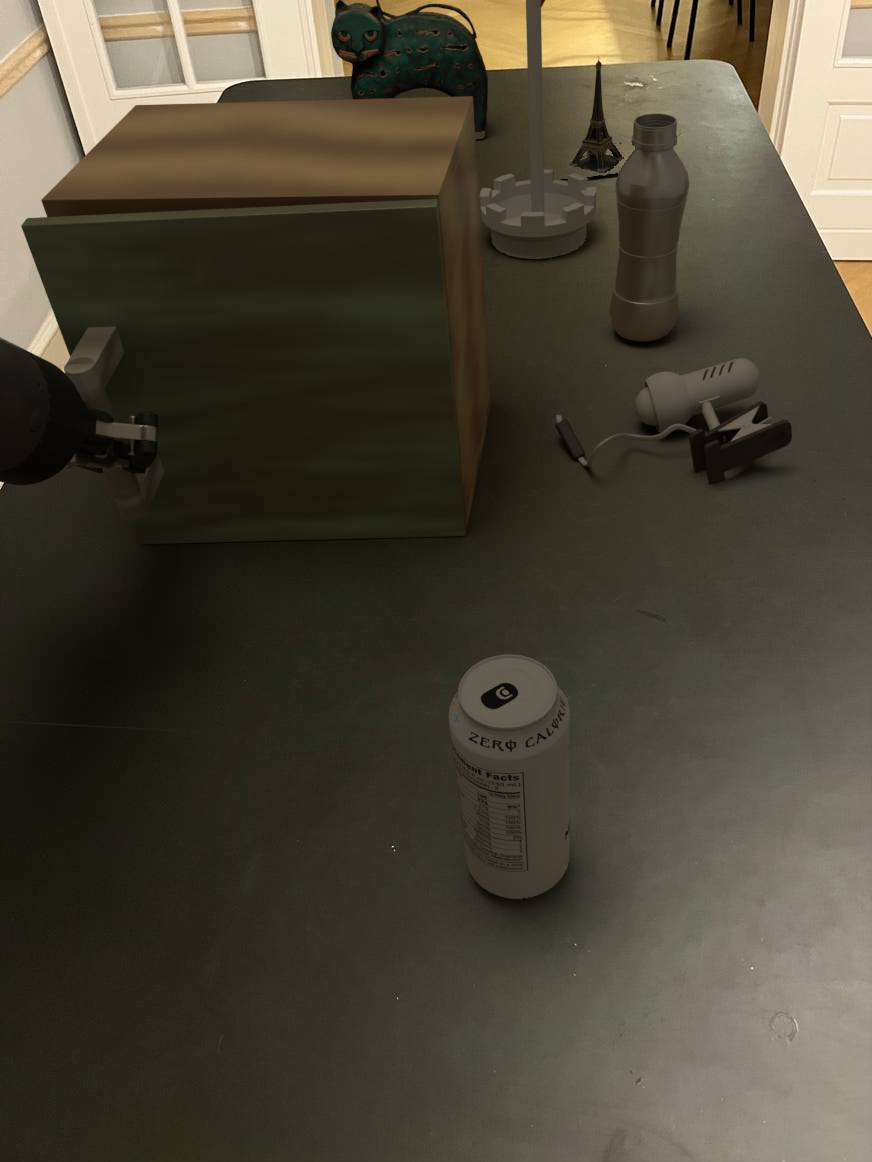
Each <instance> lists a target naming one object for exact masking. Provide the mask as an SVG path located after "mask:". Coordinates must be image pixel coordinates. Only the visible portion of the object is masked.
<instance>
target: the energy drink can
mask: <svg viewBox="0 0 872 1162" xmlns="http://www.w3.org/2000/svg"><path fill="white" fill-rule="evenodd" d="M457 690H458V691H457V692H456V694H455V695H454V696H453V698H452V701H451V702H450V706H449V708H448V724H449V732H450V733H449V734H450V740H451V741H450V742H451V747H452V755H453V756H452V758H453V764H454V766H453V767H454V772H455V773H454V774H455V780H456V788H457V789H456V790H457V797H458V804H459V813H460V821H461V828H462V829H461V830H462V836H463V837H462V839H463V845H464V846H463V847H464V852H465V859H466V860H465V861H466V866H467V869H468V871H469V873H470V875H471V877H472V878H473V879H474V881H475V882H476V883H477V884H478V885H479V886H480V887H481V888H483V889H485V890H486V891H487V892H488V893H490V894H493V895H495V896H498V897H500V898H501V897H502V898H505V899H510V900H523V898H525V899H530V898H533V897H536V896H539V895H542V894H543V893H546V892H547V891H549V890H551V889H552V888H553V887H554V886H555V885H557V884H558V883H559V882H560V880H561V879H562V878H563V876H564V875H565V873H566V871H567V869H568V866H569V862H570V857H571V856H570V854H571V853H570V852H571V851H570V849H571V847H570V845H571V844H570V843H571V842H570V839H571V838H570V836H571V835H570V833H571V829H570V828H571V827H570V825H571V822H570V821H571V820H570V819H571V815H570V814H571V813H570V812H571V811H570V809H571V804H570V802H571V795H570V794H571V793H570V792H571V786H570V785H571V784H570V783H571V779H570V778H571V769H570V768H571V761H570V760H571V753H570V752H571V729H570V728H571V709H570V704H569V701H568V699H567V696H566V695H565V693H564V692H563V690H562V689H561V687H559V686H558V685H557V680H556V678H555V677H554V675H553V673H552V672H551V671H550V669H549V668H548V667H547V666H546V665H544V664H543V663H541V662H540V661H538V660H536V659H534V658H532V657H528V656H525V655H520V654H499V655H494V656H490V657H487V658H484V659H483V660H480V661H478V662H477V663H475V664H474V665H472V666H471V667H470V668H469V669H468V670H467V671H466V672H465V673H464V674H463V676H462V678H461V680H460V681H459V684H458V688H457ZM529 897H530V898H529Z"/></svg>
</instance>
